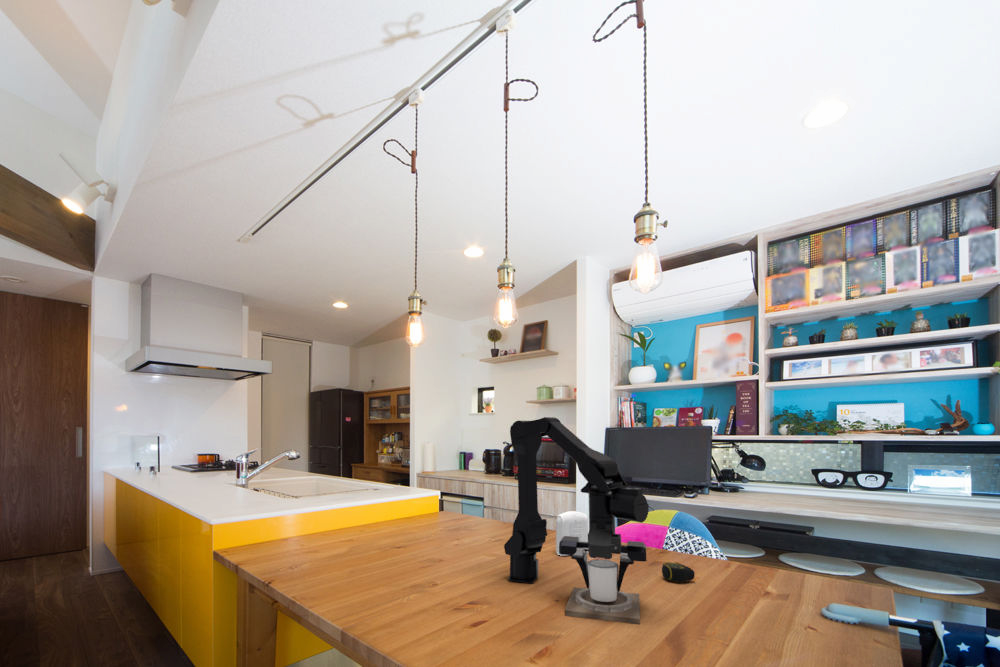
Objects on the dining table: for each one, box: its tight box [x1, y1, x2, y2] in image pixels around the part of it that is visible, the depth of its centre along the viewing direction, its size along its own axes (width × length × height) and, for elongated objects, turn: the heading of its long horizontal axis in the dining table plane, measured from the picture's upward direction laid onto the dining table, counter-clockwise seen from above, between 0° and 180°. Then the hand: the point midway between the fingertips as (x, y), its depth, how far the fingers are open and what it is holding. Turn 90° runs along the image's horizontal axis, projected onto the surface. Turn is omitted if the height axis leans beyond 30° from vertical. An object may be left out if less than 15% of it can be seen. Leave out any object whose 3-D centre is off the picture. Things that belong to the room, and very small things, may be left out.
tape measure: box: [661, 561, 696, 583], centre depth 126 cm, size 7×7×4 cm
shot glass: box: [587, 558, 620, 602], centre depth 108 cm, size 7×7×7 cm
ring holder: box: [564, 586, 641, 625], centre depth 107 cm, size 15×15×2 cm
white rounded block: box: [555, 510, 589, 557], centre depth 150 cm, size 10×4×12 cm, turn 114°
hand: (603, 589), depth 108 cm, fingers closed on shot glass, 6 cm apart
